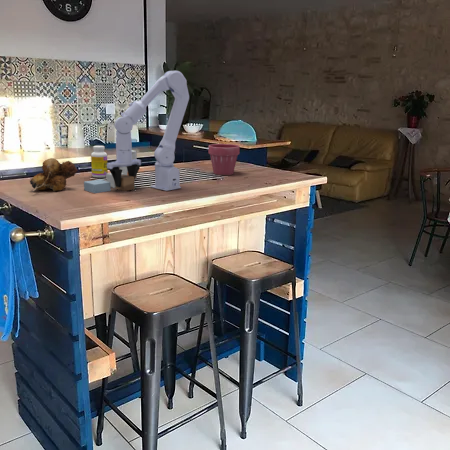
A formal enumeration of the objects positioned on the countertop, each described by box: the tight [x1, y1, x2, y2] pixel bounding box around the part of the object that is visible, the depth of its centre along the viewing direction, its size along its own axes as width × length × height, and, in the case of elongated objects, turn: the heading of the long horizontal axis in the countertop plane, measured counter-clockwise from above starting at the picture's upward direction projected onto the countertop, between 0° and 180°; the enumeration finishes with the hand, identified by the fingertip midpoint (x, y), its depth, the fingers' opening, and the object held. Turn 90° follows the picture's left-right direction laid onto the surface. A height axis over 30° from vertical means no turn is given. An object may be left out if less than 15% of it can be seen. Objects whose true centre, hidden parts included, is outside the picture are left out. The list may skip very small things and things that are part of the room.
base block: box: [83, 179, 112, 194], centre depth 187 cm, size 7×7×4 cm
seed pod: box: [29, 157, 79, 192], centre depth 185 cm, size 13×16×15 cm
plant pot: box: [207, 143, 241, 176], centre depth 227 cm, size 14×14×13 cm
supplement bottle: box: [90, 145, 109, 179], centre depth 212 cm, size 7×7×13 cm
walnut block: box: [115, 175, 135, 192], centre depth 191 cm, size 5×5×5 cm
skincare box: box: [119, 149, 138, 180], centre depth 208 cm, size 6×4×12 cm
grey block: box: [105, 172, 125, 189], centre depth 196 cm, size 5×5×5 cm
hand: (124, 185), depth 191 cm, fingers open, 6 cm apart
